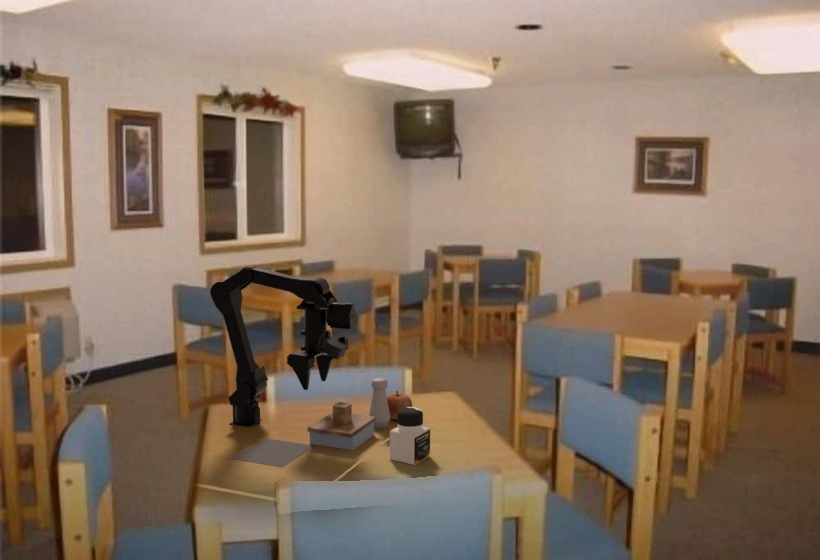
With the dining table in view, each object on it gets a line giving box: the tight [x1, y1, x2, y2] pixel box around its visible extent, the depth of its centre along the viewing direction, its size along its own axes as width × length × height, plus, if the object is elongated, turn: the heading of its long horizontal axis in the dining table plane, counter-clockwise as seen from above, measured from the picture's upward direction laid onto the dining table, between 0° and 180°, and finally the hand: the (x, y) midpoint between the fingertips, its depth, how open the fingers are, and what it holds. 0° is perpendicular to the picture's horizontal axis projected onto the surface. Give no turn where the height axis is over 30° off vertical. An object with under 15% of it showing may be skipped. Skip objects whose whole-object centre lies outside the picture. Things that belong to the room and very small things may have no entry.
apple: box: [386, 390, 413, 421], centre depth 211 cm, size 8×8×8 cm
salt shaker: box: [368, 377, 391, 430], centre depth 204 cm, size 6×6×13 cm
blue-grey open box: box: [309, 422, 375, 451], centre depth 193 cm, size 12×12×4 cm
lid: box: [307, 401, 376, 438], centre depth 193 cm, size 12×14×6 cm
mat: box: [231, 438, 315, 468], centre depth 184 cm, size 14×15×1 cm
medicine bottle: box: [389, 406, 431, 466], centre depth 182 cm, size 7×7×12 cm
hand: (314, 385), depth 200 cm, fingers open, 9 cm apart
